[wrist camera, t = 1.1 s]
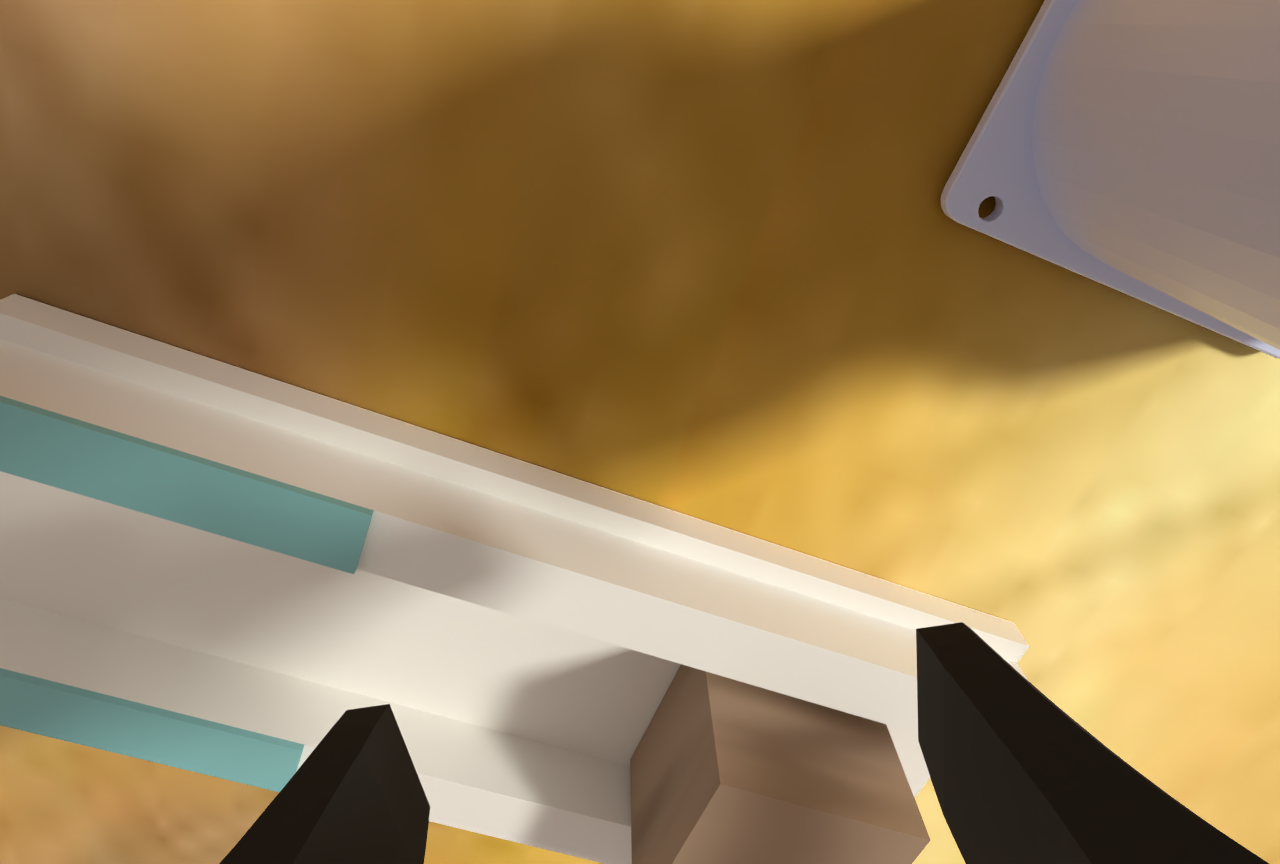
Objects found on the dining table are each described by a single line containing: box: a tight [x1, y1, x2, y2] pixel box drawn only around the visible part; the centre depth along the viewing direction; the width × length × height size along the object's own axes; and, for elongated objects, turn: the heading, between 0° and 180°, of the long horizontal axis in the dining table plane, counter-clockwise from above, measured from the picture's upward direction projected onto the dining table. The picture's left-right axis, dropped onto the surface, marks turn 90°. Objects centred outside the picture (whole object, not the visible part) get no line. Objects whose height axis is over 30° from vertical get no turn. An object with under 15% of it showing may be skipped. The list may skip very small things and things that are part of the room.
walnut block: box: [630, 664, 930, 864], centre depth 21 cm, size 5×5×5 cm
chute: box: [0, 294, 1029, 864], centre depth 21 cm, size 26×10×3 cm, turn 69°
